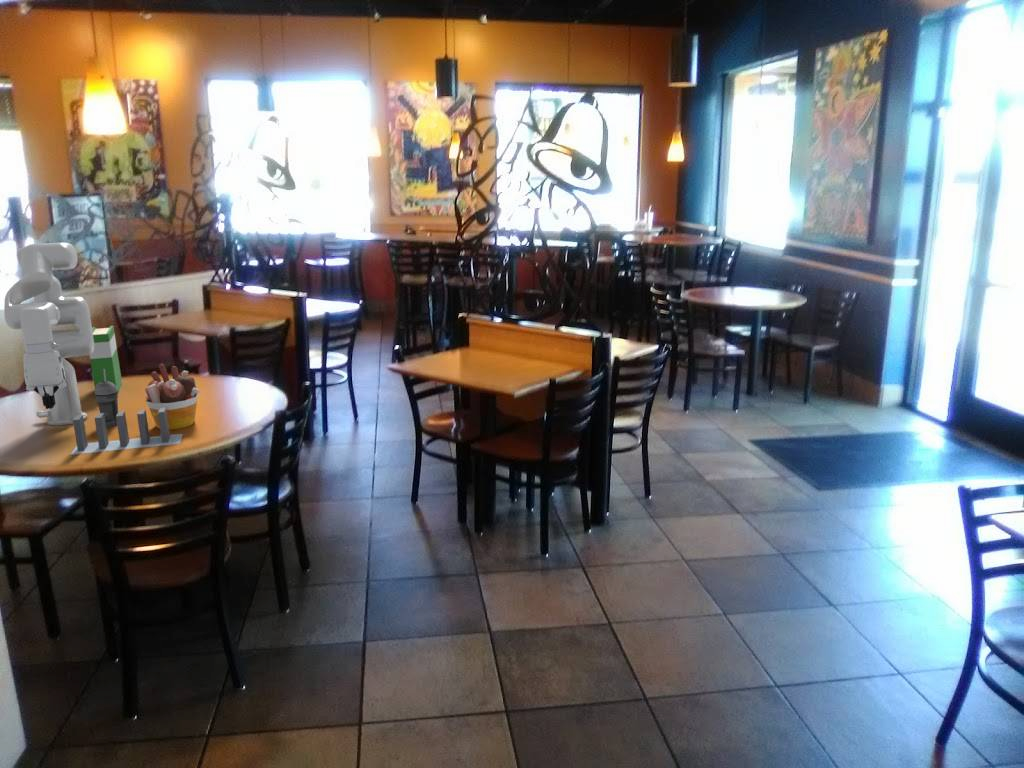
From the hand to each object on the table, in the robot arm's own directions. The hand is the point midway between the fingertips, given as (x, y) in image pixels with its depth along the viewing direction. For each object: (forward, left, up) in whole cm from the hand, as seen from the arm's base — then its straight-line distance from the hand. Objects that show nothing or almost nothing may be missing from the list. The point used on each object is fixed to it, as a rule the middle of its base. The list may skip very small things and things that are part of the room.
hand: (50, 407), depth 246 cm
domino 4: (+25, +1, -14) cm, 29 cm away
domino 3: (+19, +1, -14) cm, 24 cm away
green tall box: (+2, +75, -15) cm, 76 cm away
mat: (+20, +1, -15) cm, 25 cm away
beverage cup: (+11, +25, -15) cm, 31 cm away
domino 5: (+31, +1, -14) cm, 34 cm away
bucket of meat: (+32, +18, -15) cm, 39 cm away
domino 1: (+7, +1, -14) cm, 16 cm away
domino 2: (+13, +1, -14) cm, 19 cm away
